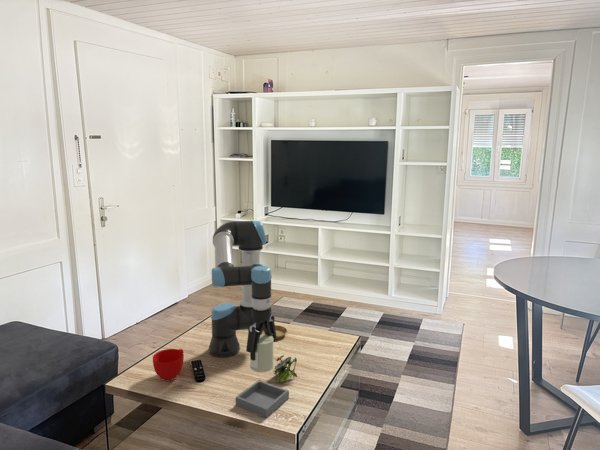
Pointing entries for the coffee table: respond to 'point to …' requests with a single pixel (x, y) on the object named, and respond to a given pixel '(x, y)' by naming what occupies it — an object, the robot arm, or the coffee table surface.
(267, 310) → the robot arm
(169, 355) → the red bowl
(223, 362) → the coffee table surface
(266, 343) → the can
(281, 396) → the tray
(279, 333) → the plant saucer
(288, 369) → the passion flower
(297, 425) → the coffee table surface
